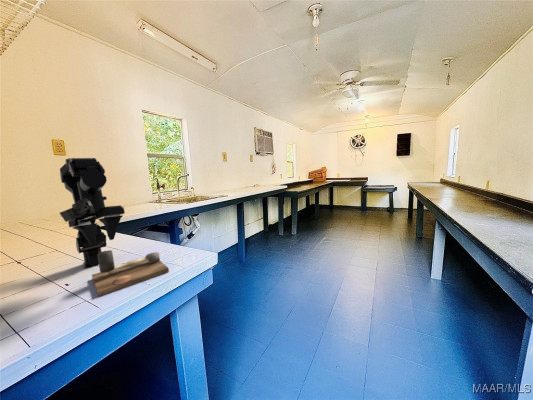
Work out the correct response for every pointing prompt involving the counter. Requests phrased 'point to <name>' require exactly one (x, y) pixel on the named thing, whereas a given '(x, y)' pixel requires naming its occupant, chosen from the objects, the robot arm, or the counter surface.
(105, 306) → the counter surface
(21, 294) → the counter surface
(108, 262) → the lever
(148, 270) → the board
